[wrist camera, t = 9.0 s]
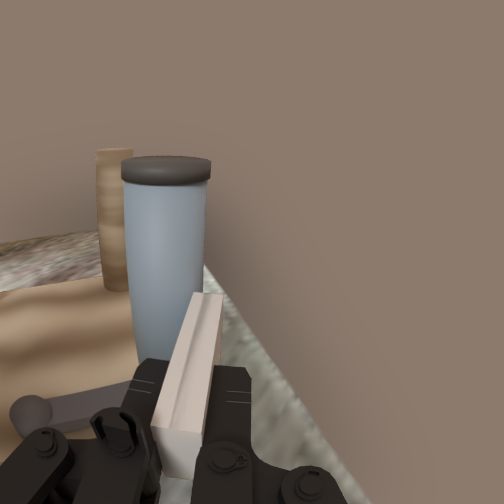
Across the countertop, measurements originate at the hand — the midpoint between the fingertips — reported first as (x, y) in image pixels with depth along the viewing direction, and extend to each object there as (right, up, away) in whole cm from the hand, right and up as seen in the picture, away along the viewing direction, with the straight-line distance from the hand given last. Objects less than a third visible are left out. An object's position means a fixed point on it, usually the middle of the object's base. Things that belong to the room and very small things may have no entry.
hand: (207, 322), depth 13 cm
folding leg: (-6, -5, +1) cm, 8 cm away
